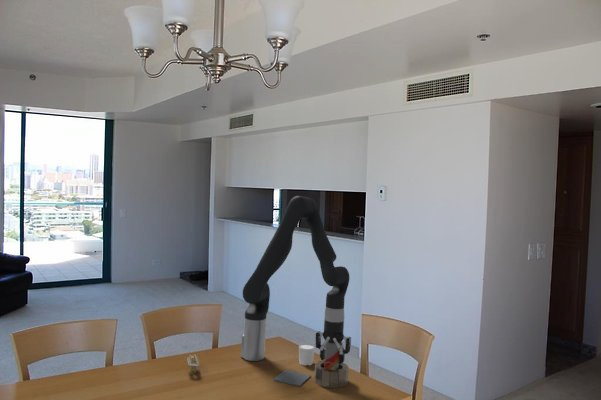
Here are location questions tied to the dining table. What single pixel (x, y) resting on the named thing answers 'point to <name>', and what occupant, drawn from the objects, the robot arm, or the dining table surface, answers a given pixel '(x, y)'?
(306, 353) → the white cylinder
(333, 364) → the lotion bottle
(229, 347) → the dining table surface
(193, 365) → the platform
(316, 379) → the collar
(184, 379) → the dining table surface
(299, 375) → the rubber mat
